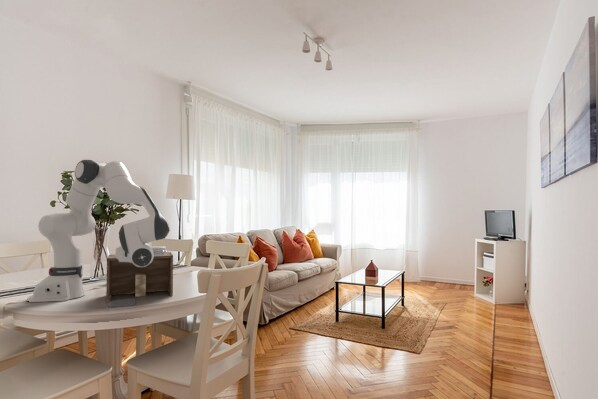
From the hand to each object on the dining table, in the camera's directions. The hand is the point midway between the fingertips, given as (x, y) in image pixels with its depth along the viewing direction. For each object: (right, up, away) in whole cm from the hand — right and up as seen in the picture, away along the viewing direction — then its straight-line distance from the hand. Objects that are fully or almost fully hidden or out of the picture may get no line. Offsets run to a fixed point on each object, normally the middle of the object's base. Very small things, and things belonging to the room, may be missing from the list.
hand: (141, 249), depth 170 cm
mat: (-6, -23, -5) cm, 24 cm away
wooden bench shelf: (-5, -23, +11) cm, 26 cm away
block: (-5, -23, +11) cm, 26 cm away
